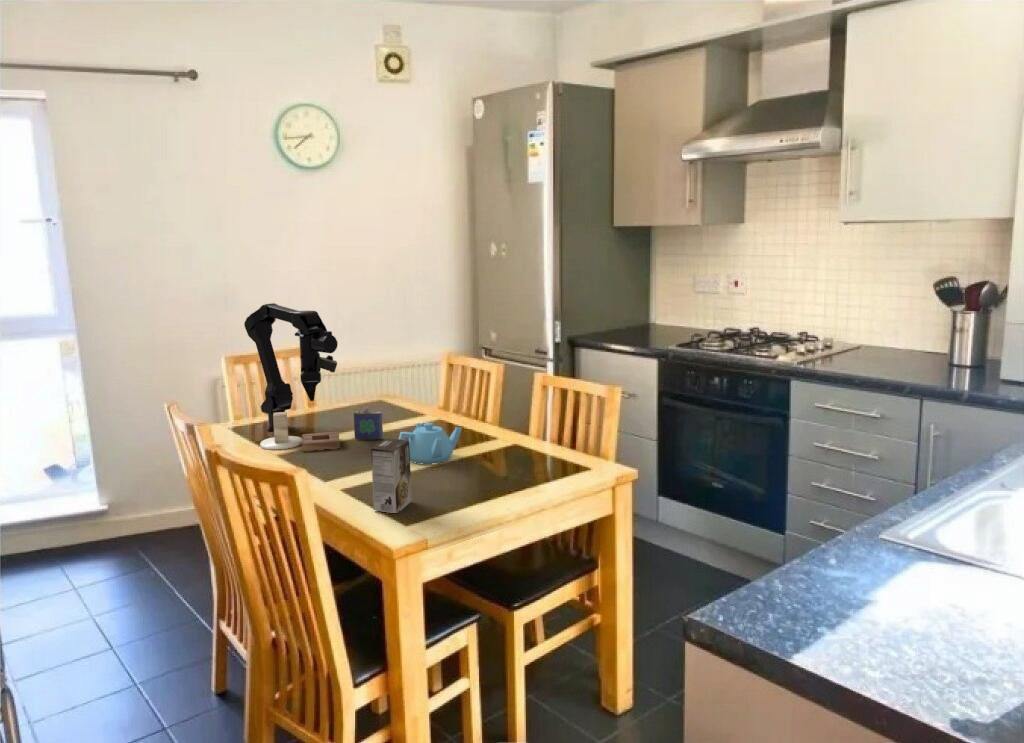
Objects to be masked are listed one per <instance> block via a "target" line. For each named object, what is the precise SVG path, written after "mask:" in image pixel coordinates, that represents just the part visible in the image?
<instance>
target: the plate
mask: <svg viewBox="0 0 1024 743" xmlns="http://www.w3.org/2000/svg"><path fill="white" fill-rule="evenodd" d="M288 439H289V440H288V443H278V444H275V438H274V436H273V437H269V438H266V439H263V440H262V441H261V442H260V443H259V444H260V445H259V446H260V448H262V449H264V450H268V449H269V450H271V449H273V450H271V451H279V450H278V449H283V450H289V449H288V448H290V449H294V448H293V447H295V448H298V447H300V446H301V444H302V437H300V436H295V435H288ZM299 445H300V446H299ZM297 446H298V447H297ZM274 449H275V450H274ZM276 449H277V450H276Z"/></svg>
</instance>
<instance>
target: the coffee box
mask: <svg viewBox="0 0 1024 743" xmlns="http://www.w3.org/2000/svg"><path fill="white" fill-rule="evenodd" d="M370 452H371V455H370V457H371V474H372V475H371V476H372V478H371V479H372V498H373V501H372V502H373V511H374V510H377V511H382V512H390V513H398V512H399V511H400V512H401V511H402V510H403V509H404V508H406V507H407V506H408V505H410V503H412V501H413V500H412V498H413V497H412V478H411V477H412V476H411V461H410V449H409V439H408V440H406V439H405V440H400V439H399V438H389V437H387V438H385V439H384V440H383V439H382V440H381V442H379V443H378V444H376V445H374V446H373V447H371V449H370ZM400 512H399V513H400Z"/></svg>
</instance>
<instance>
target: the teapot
mask: <svg viewBox="0 0 1024 743" xmlns="http://www.w3.org/2000/svg"><path fill="white" fill-rule="evenodd" d="M462 429H463V428H462V427H458V426H457V427H456V426H455V428H454V430H453V431H452V432H451V434H450V436H449V435H448V434H447V433H446V431H445V430H444V428H442V427H441V426H437V425H434V423H432V422H426V423H423V426H422V423H420V422H419V423H415V429H414V430H413V432H410V431H409V432H408V431H400V433H399V437H398V439H400V440H406V438H408V440H409V449H410V460H411V461H410V462H412V461H413V462H412V463H414V462H416V463H415V464H417V463H423V464H422V465H433V464H432V463H438V464H440V463H439V462H442V463H444V462H443V461H445V462H447V461H448V460H449V459H450V458H451V456H453V453H454V450H455V448H456V446H457V443H458V440H459V438H460V436H461V432H462ZM446 460H447V461H446Z"/></svg>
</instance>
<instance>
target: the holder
mask: <svg viewBox="0 0 1024 743" xmlns="http://www.w3.org/2000/svg"><path fill="white" fill-rule="evenodd" d="M301 436H302V437H301V438H302V447H301V448H302V452H303V451H306V452H315V451H314V450H318V451H325V450H324V449H331V450H338V449H337V448H340V449H341V440H340V434H339V431H331V432H330V431H329V432H317V433H304V434H303V433H302V435H301Z"/></svg>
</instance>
